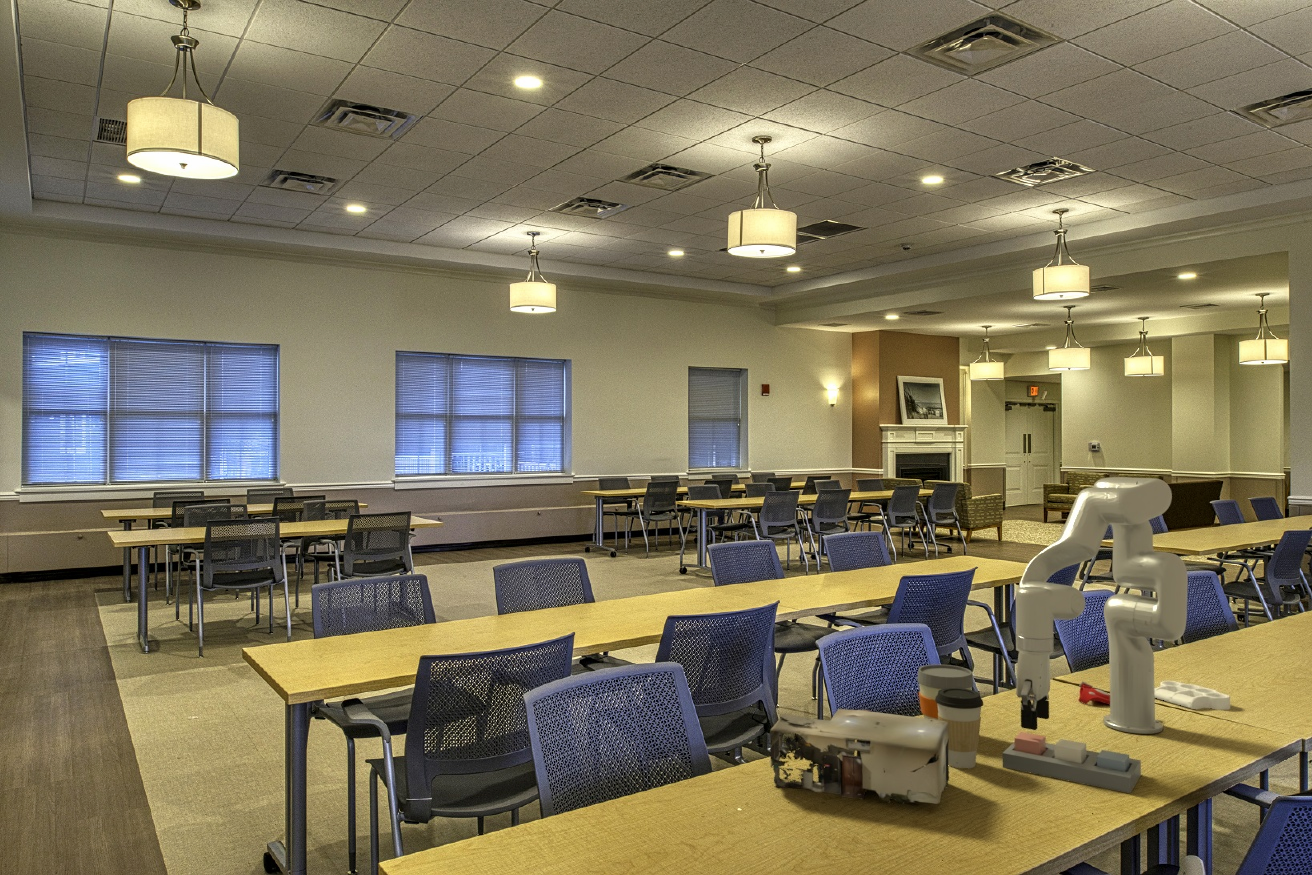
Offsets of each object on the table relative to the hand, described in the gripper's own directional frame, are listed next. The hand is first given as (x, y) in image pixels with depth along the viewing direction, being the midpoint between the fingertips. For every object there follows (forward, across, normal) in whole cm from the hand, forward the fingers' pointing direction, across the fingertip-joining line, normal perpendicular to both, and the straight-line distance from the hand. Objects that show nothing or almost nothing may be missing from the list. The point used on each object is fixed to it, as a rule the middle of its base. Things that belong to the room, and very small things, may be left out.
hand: (1035, 723), depth 192 cm
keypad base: (+7, +4, +8) cm, 12 cm away
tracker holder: (+7, -54, +1) cm, 55 cm away
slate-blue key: (+6, +5, +16) cm, 18 cm away
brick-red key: (+6, +5, 0) cm, 7 cm away
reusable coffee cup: (+8, -4, -21) cm, 23 cm away
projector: (+8, +40, -21) cm, 46 cm away
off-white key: (+6, +5, +8) cm, 11 cm away
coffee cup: (+8, +14, -12) cm, 20 cm away
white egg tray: (+7, -68, +22) cm, 71 cm away
